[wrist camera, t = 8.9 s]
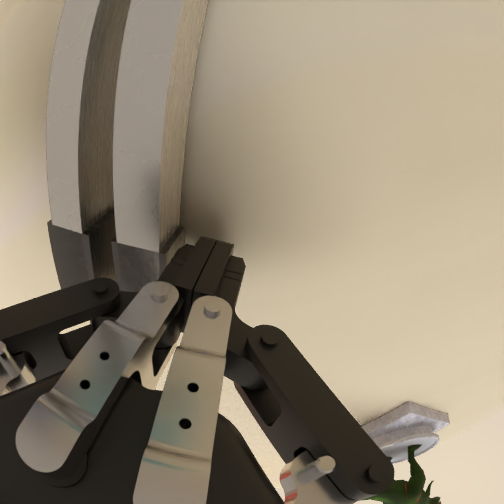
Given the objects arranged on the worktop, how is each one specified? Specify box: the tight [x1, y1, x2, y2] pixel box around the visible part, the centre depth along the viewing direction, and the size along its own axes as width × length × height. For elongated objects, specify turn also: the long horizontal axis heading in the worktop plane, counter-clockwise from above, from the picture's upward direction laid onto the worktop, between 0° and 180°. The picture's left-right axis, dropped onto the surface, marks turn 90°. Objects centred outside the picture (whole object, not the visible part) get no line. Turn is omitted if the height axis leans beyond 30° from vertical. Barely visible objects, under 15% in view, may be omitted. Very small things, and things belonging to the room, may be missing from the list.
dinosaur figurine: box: [359, 401, 450, 504], centre depth 18 cm, size 9×20×12 cm, turn 58°
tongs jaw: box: [111, 0, 209, 292], centre depth 9 cm, size 23×3×2 cm, turn 170°
